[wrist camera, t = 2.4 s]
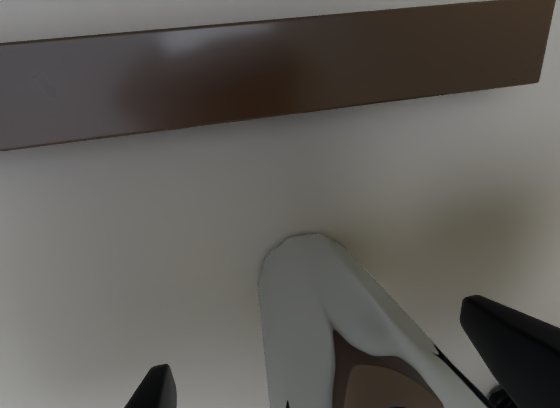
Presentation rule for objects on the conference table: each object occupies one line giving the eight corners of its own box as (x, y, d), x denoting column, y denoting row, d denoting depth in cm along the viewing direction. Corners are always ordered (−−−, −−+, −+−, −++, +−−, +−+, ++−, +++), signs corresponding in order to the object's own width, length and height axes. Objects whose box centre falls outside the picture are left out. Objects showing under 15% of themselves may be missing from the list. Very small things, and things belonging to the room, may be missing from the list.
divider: (495, 80, 10) (539, 83, 9) (-58, 148, 8) (-112, 166, 7) (507, 4, 9) (558, -6, 8) (-104, 59, 7) (-175, 57, 6)
